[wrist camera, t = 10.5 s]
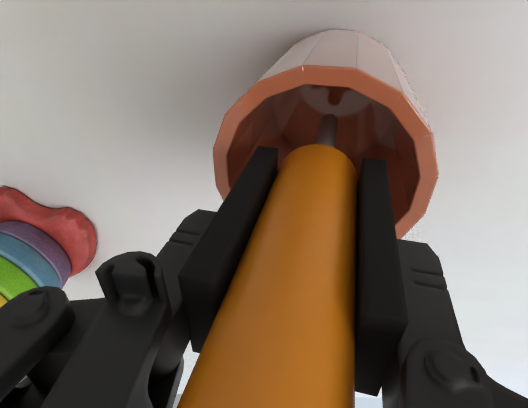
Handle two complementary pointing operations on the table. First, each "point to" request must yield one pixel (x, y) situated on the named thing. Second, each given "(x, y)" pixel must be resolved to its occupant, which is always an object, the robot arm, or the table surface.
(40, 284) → the stacking bear
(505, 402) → the robot arm
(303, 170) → the orange round dowel
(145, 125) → the table surface
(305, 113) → the pen cup
